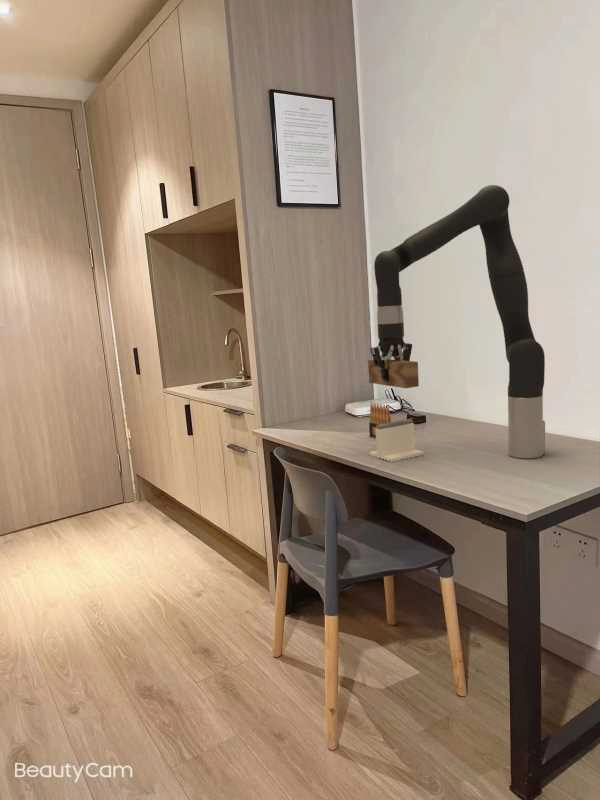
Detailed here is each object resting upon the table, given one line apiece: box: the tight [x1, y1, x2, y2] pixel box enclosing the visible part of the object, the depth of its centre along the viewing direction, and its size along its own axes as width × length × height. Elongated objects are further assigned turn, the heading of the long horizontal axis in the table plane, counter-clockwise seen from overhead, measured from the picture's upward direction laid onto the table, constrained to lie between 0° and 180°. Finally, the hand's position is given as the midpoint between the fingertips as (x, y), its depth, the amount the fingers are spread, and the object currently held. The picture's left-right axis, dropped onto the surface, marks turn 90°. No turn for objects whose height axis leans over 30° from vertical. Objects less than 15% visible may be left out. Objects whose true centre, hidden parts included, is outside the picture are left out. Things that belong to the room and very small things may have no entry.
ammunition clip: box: [368, 402, 392, 439], centre depth 206 cm, size 11×2×12 cm, turn 30°
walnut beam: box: [367, 358, 420, 389], centre depth 181 cm, size 18×4×7 cm, turn 29°
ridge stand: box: [368, 418, 425, 463], centre depth 184 cm, size 12×11×10 cm
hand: (392, 379), depth 181 cm, fingers closed on walnut beam, 4 cm apart
